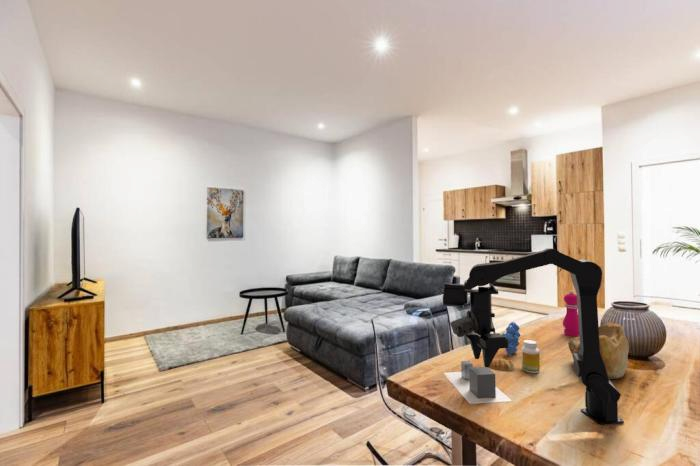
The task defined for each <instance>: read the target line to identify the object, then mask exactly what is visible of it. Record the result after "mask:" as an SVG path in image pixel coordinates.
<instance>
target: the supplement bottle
mask: <svg viewBox="0 0 700 466" xmlns="http://www.w3.org/2000/svg"><path fill="white" fill-rule="evenodd" d="M540 368H541V367H540V350H539V348H538V343H537V341H535V340H531V339H525V340H523V346H522V347H521V370H523V371H524V372H526V373H530V374H537V373H539V372H540V370H541V369H540Z"/></svg>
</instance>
